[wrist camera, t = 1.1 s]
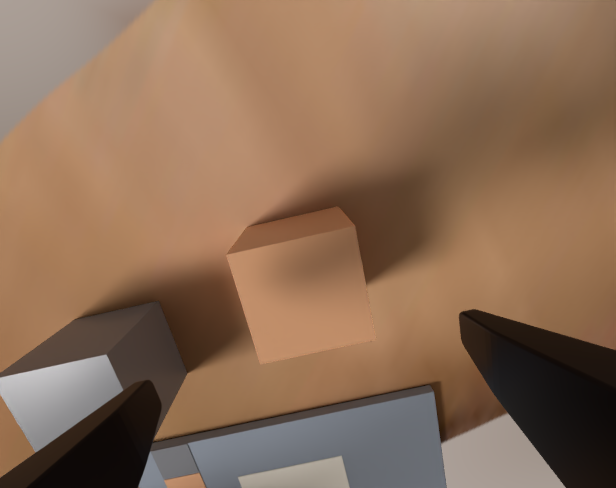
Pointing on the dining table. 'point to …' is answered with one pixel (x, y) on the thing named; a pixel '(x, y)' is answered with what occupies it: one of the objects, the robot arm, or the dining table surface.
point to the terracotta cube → (302, 285)
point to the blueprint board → (312, 449)
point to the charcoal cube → (91, 370)
